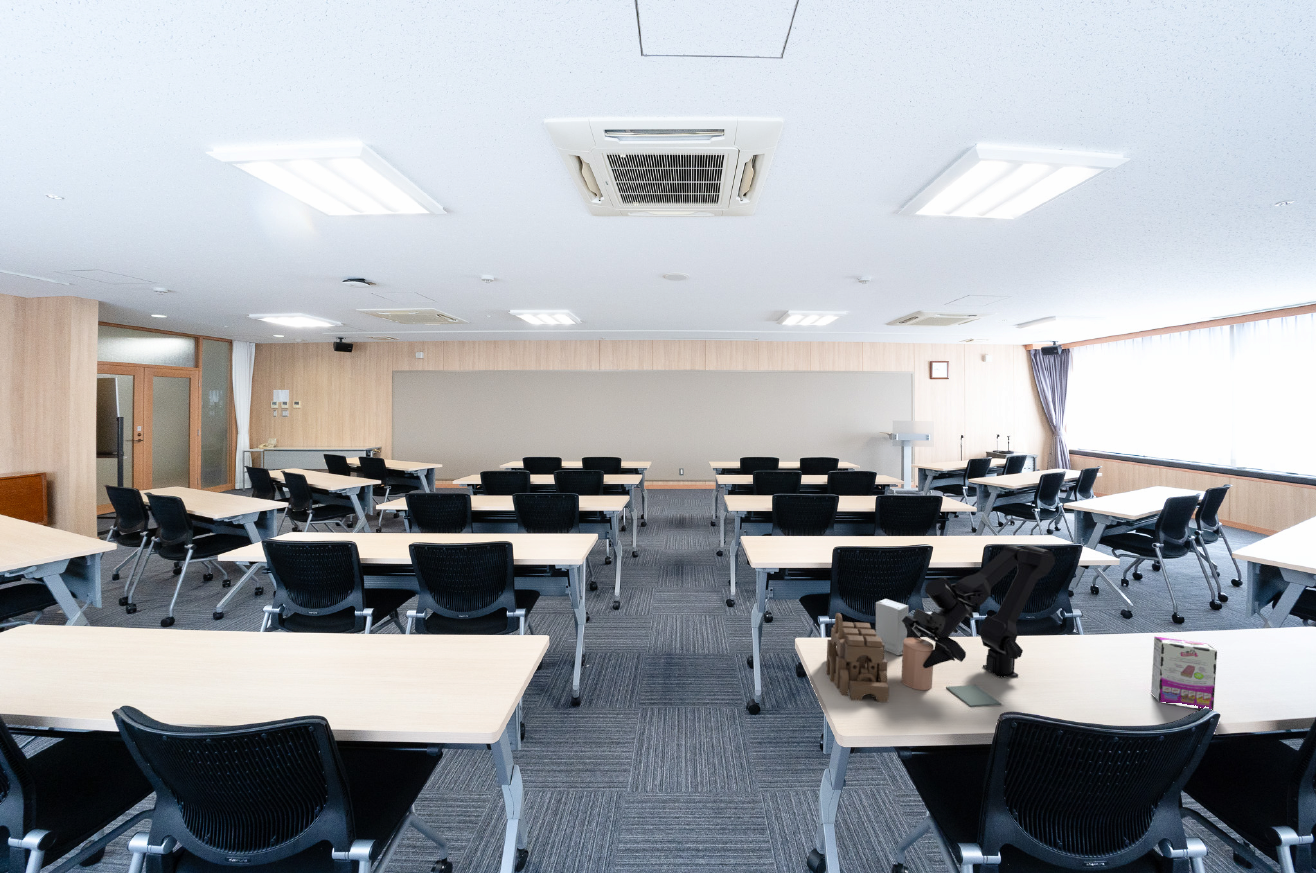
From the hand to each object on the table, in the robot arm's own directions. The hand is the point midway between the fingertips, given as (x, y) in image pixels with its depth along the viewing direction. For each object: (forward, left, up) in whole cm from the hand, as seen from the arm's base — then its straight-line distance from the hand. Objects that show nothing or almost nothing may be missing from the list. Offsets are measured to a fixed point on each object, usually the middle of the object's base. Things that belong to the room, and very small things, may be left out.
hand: (913, 660), depth 145 cm
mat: (-12, +8, -7) cm, 16 cm away
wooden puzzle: (+15, -4, -7) cm, 17 cm away
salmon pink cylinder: (-1, 0, -7) cm, 7 cm away
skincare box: (-6, -20, -7) cm, 22 cm away
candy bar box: (-66, +17, -7) cm, 69 cm away
